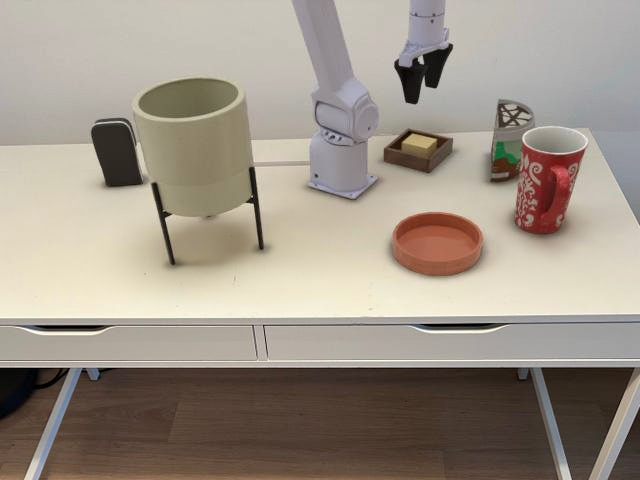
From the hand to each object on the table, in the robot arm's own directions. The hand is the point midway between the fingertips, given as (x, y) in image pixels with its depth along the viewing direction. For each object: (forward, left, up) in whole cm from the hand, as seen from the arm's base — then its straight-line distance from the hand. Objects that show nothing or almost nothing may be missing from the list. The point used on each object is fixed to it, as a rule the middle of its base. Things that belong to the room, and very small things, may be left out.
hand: (421, 94), depth 117 cm
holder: (+2, -4, -9) cm, 10 cm away
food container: (+18, -1, -10) cm, 20 cm away
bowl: (+18, -29, -9) cm, 35 cm away
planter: (-13, -44, -10) cm, 47 cm away
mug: (+29, -16, -10) cm, 34 cm away
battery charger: (-40, -37, -10) cm, 55 cm away
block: (+2, -4, -9) cm, 10 cm away
